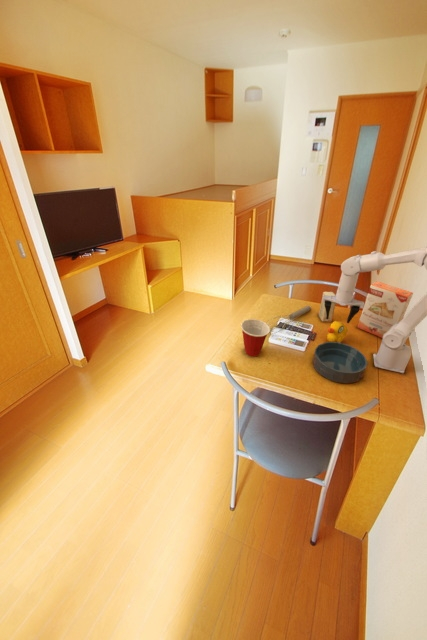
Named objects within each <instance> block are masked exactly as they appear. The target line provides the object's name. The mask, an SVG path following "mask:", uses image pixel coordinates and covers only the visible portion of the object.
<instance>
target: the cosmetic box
mask: <svg viewBox="0 0 427 640" xmlns="http://www.w3.org/2000/svg"><path fill="white" fill-rule="evenodd" d="M323 295H327V296H336V293H334V292H333V291H323V292H322V295H321V296H322V297H321V299H322V298H323ZM324 304H325V302H322V300H321V301H320V307H319V311H318V317H319V319H320V320H321V322H330V323H331V322H332V321H333V316H334V314H335V313H334V312H335V308H336V304H337V303H331V308H330V312H329V318H328V319H326V316H327V315H326V309H325V305H324Z"/></svg>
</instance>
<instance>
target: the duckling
mask: <svg viewBox="0 0 427 640" xmlns="http://www.w3.org/2000/svg"><path fill="white" fill-rule="evenodd" d="M327 332H328V333H327V335H326V339H327V342H339V343H343V341H344V340H345V338H346V336H347V333H348V328H347V326H346V325H344V323H343V322H342V321H339V320H335V321H333V322H332V323H331V324H330V325H329V327H328V328H327Z"/></svg>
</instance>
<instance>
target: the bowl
mask: <svg viewBox="0 0 427 640" xmlns="http://www.w3.org/2000/svg"><path fill="white" fill-rule="evenodd" d="M312 365H313V368H314V369H315V370H316V372H317V373H318V374H319V375H321V376H322V377H324V378H325V379H328V380H330V381H332V382H335V383H340V384H353V383H357V382H359V381H361V380H362V378H363V377H364V375H365V373H366V369H367V367H368V360H367V358H366V356H365V355H364V354H363V353H362V352H361V351H360V350H359V349H358V348H356V347H354V346H351V345H349V344H346V343H343V342H341V343H339V342H329V341H326V342H322V343H320V344H318V345H317V346H316V347H315V349H314V353H313V357H312Z"/></svg>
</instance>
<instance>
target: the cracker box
mask: <svg viewBox="0 0 427 640" xmlns="http://www.w3.org/2000/svg"><path fill="white" fill-rule="evenodd" d="M413 294H414V292H412V291H410V290H406V289H402V288H399V287H396V286H393V285H391V284H387V283H383V282H380V281H375V282H373V283H372V284H370V286H369V290H368V293H367V296H366V297H365V301H364V306H363V309H362V312H361V314H360V317H359V319H358V320H359V321H358V323H357V326H356V328H357V329H360V330H361V331H364V332H366V333H369V334H371V335H374V336H376V337H378V338H380V339H383V335H384V334H385V333H387V332H388V331H389V330H390V328H391V327H392V326H393V325H394V324H395V323H398V322H400V321H401V320H402V319H403V318H404V317H405V314H406V312H407V309H408V308H409V304H410V302H411V299H412V297H413Z"/></svg>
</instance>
